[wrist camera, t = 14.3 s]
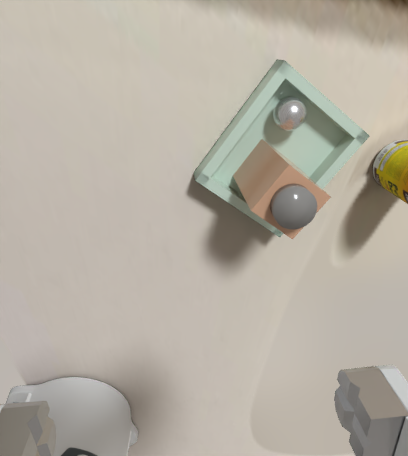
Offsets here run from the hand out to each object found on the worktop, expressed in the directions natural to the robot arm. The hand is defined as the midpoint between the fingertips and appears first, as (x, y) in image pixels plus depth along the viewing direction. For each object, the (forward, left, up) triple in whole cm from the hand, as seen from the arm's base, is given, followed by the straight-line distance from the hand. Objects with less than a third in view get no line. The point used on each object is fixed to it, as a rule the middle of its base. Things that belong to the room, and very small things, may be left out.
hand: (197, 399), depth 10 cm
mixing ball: (+9, -6, -28) cm, 31 cm away
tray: (+5, -8, -29) cm, 31 cm away
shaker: (+3, -9, -28) cm, 30 cm away
